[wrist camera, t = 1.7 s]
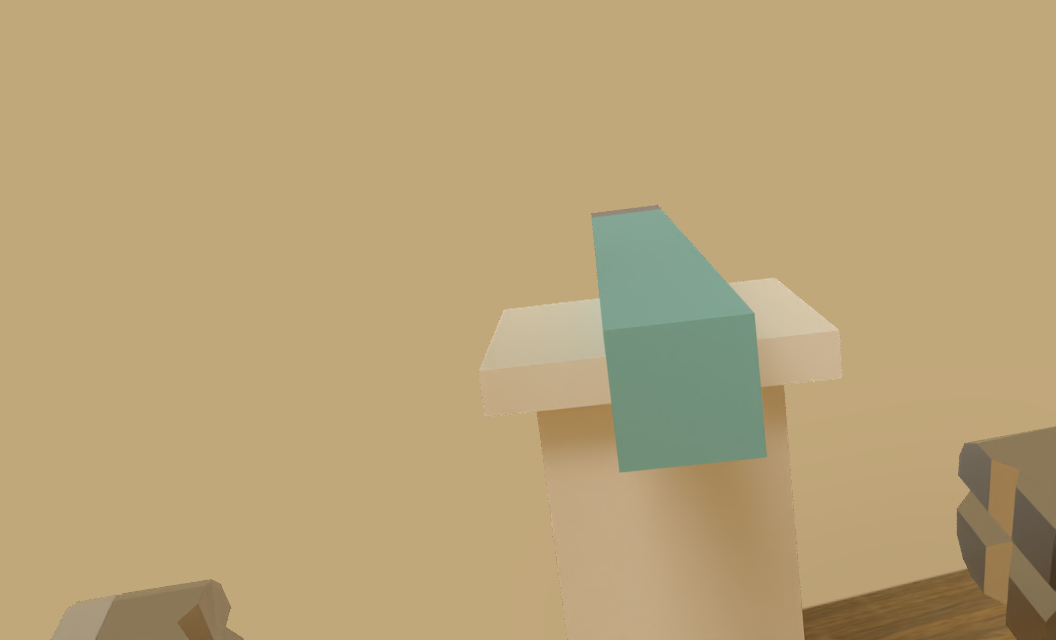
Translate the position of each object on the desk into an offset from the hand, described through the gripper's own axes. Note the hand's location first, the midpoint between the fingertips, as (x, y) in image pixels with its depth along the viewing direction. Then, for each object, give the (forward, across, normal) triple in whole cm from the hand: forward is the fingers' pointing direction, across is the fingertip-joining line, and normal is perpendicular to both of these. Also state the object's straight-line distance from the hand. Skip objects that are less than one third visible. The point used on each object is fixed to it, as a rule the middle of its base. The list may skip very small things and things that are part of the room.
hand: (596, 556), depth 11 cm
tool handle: (+20, -4, +8) cm, 22 cm away
